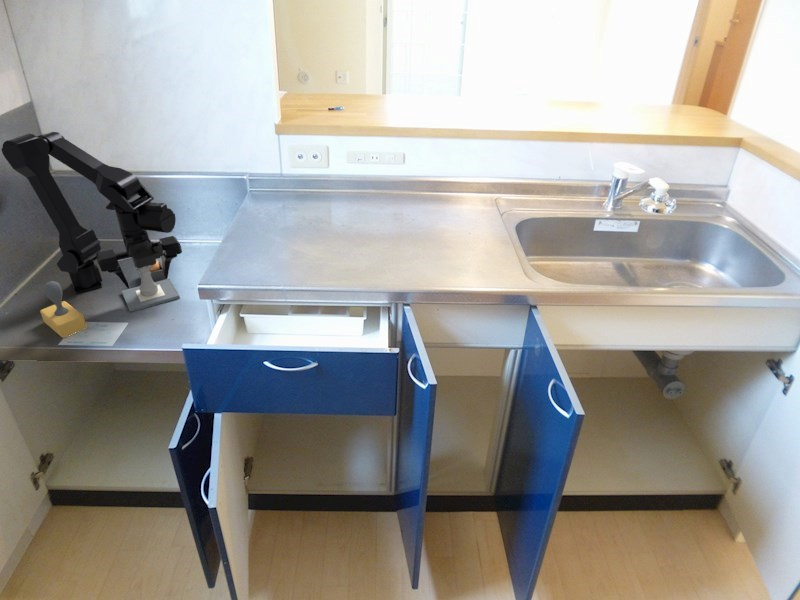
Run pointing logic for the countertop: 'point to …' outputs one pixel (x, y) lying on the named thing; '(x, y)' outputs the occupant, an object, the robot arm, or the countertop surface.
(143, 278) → the rook chess piece
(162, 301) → the slate board
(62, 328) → the rubber stamp
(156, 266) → the button
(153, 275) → the button housing
